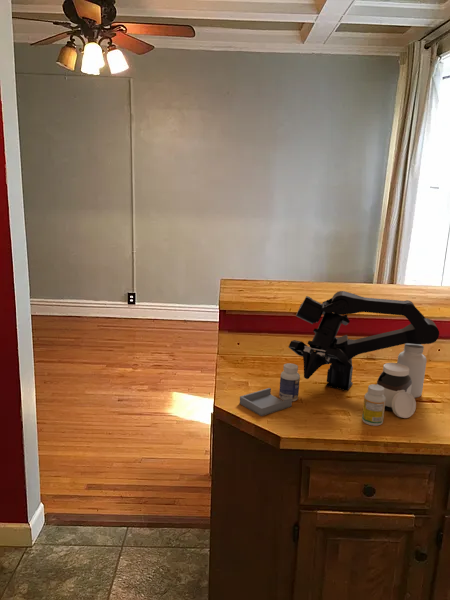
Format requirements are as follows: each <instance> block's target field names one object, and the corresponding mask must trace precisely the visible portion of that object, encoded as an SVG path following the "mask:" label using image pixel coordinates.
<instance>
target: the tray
mask: <svg viewBox="0 0 450 600" xmlns="http://www.w3.org/2000/svg"><path fill="white" fill-rule="evenodd" d="M271 393H272V388H270V387H267V388H265V389H260V390H258V391H254V392H251V393H247V394H244V395H240V396H239V405H241V406H243V407H244V408H246V409H248V410H250V411H251V412H253V413H254V414H257V415H258V416H259V417H264V416H267V415H269V414H272V413H276V412H279V411H282V410H286V409H288V408H291V407H292V403H293V401H292V399H291V398H290V399H287V400H282V399H280V397H276V396H274V395H273V394H271Z"/></svg>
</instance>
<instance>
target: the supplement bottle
mask: <svg viewBox="0 0 450 600" xmlns="http://www.w3.org/2000/svg"><path fill="white" fill-rule="evenodd" d="M367 387H368V388H367V392H366V393H365V394H364V398H363V405H362V406H363V407H362V415H361V416H362V417H361V420H362V421H363V423H364V424H366V425H369V426H380V425H382V424H383V423H384V416H385V402H386V398H385V396H384V395H383V394H384V387H382V386H380V385H377V383H376V384H374V383H371V384H369V385H368V386H367Z"/></svg>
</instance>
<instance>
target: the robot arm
mask: <svg viewBox="0 0 450 600" xmlns="http://www.w3.org/2000/svg"><path fill="white" fill-rule="evenodd" d="M359 313H373V314H380V315H392V316H393V315H394V316H403V317H405V318H406V320H408V322H409V323H410V324H408V325H406V326H404V327H403V328H400V329H399V328H398V329H395V330H392V331H391V330H390V331H386V332H383V333H378V334H372V335H370V336H365V337H361V338H356V339H351V338H348V334H345V335H343V336H339V337H337V335H338V332H339V330H340V327H341V326H342V325H344V326H347V325H349V324H350V321H351V320H350V318H348V315H353V314H359ZM322 315H323V316H322ZM295 317H297V318H299V319H301V320H303V321H305V322H307V323H309V324H311V325H313V324H318V323H319V322H320V323H319V324H318V327H317V328H314V329H313V330H312V331H313V333H314V335H313V338H312V340H308V342H307V344H306V343H305V342H303V341H301V340H296V339H295V340H291V341H290V343H289V345H288V348H289V349H290V350H291V351H293V352H294V353H295V354H296V355H297V356H299V357H302V360H303V378H304V379H306V380H309V379H310V378H311V377H312V376H313V375H314V373H316V371H317V370H318V369H320V368H321V367H322V366H325V365H329V368H328V369H327V377H326V387H329V388H333V389H336V390H341V391H349V390H350V388H351V387H352V385H353V384H354V383H353V381H352V379H353V369H354V366H353V358H354V357H357V356H358V355H361V354H365V353H371V352H375V351H379V350H384V349H387V348H389V349H390V348H393V347H396V346H397V347H398V346H400V345H401V346H402V345H405V344H421V345H430V344H434V343H436V342H437V340H438V339H439V336H440V331H439V328H438V327H437V325H436V323H435V322H434V321H433V320H432V319H430V318H426V317H425V316H424V314H422V312H421V311H420V310H419V309H418V308H417V307H416V306H415V304H414V302H413V301H411V300H407V299H406V300H399V299H398V300H397V299H389V298H388V299H387V298H386V299H384V298H374V297H364V296H361V295H359V294H356V293H351V292H348V291H344V290H339V291H337V292H335V293H334V294H333V296H332V297H331V298H329V299H327V300H324V301H323V302H322V303H321V302H319V301H317V300H315V299H313V298H312V297H310V296H308V295H306V296H305V298H304V300H303V301H302V303H301V304H300V306H299V308H298V310H297V311H296V314H295Z"/></svg>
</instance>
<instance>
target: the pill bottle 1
mask: <svg viewBox="0 0 450 600" xmlns="http://www.w3.org/2000/svg"><path fill="white" fill-rule="evenodd" d="M298 371H299V366H298V365H297V364H295V363H290V362H289V363H288V362H287V363H284V364H283V371H282V372H281V373H280V378H279V379H280V381H279V393H278V398H279V399H281V400H283V401H284V400H287V399H290V398H291V399H292V402H295V401H297V400H298V399H299V391H300V380H301V375H300V373H299V372H298Z"/></svg>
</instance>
